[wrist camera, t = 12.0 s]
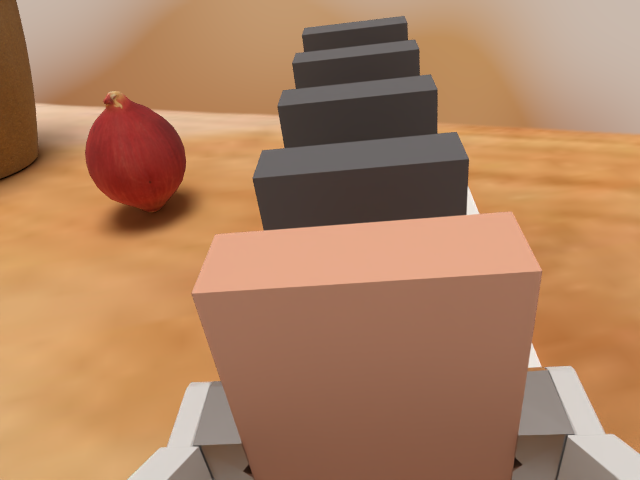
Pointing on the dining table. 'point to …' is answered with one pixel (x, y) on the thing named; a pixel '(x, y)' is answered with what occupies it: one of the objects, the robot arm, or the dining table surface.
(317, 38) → the domino
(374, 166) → the domino
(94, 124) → the onion
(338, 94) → the domino
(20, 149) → the plant pot
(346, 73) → the domino
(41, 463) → the dining table surface
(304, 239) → the terracotta domino
